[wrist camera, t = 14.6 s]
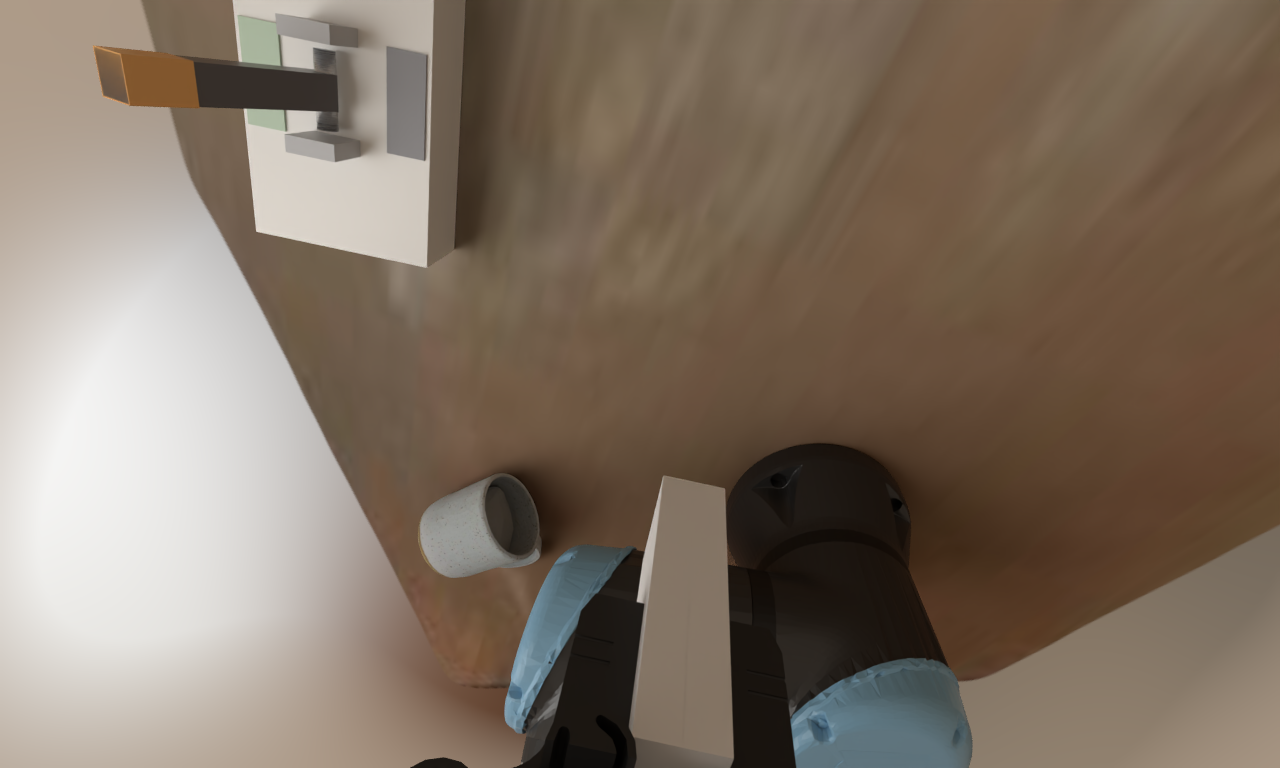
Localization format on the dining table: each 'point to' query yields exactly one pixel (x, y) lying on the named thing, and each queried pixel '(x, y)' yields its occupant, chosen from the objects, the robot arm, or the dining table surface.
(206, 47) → the dining table surface
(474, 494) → the ceramic mug
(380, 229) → the switch box
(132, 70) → the switch lever
